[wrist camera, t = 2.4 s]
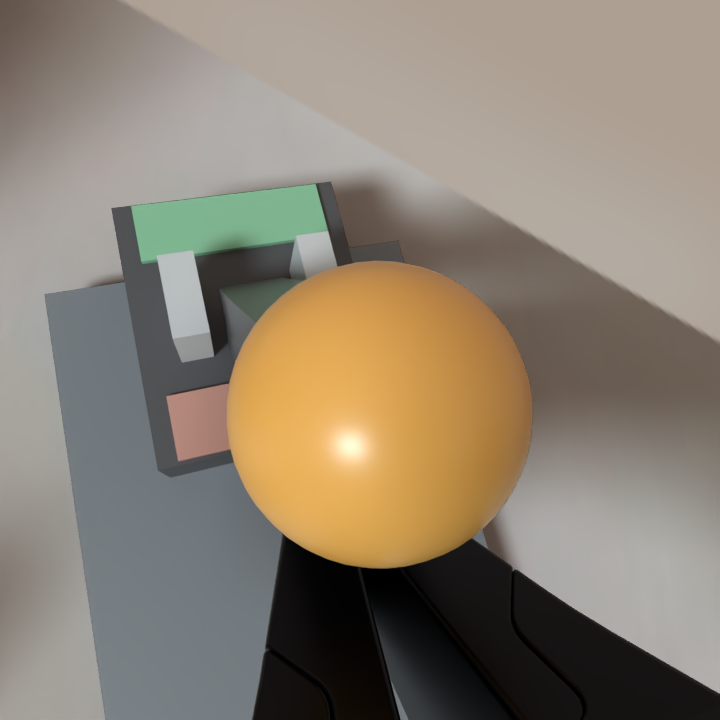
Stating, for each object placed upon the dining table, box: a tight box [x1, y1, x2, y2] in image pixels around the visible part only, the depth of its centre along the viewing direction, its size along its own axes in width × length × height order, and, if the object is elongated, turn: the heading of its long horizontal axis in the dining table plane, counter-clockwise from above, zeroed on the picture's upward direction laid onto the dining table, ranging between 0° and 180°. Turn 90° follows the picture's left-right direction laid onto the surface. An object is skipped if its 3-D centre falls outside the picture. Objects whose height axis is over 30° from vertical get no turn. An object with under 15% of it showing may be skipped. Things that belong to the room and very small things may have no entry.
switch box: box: [45, 182, 488, 720], centre depth 15 cm, size 18×11×6 cm, turn 15°
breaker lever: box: [218, 261, 533, 568], centre depth 9 cm, size 3×3×11 cm
